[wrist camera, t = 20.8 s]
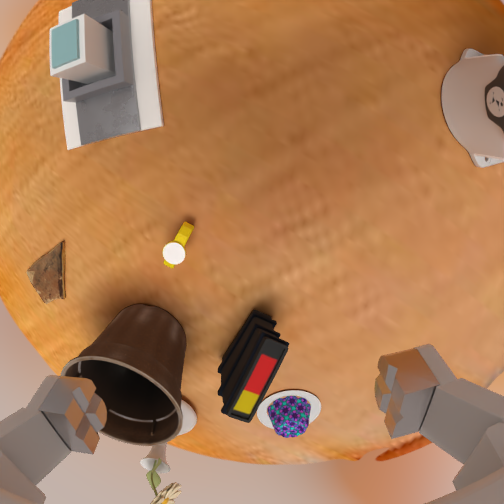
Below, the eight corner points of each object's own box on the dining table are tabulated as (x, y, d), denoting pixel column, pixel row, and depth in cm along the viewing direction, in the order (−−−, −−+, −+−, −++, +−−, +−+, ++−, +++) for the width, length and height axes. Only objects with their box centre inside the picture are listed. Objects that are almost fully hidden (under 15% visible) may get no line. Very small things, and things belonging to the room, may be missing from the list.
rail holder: (150, -19, 29) (139, -34, 24) (164, 126, 37) (152, 125, 32) (62, 13, 30) (44, 4, 25) (71, 149, 37) (52, 152, 33)
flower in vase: (183, 432, 57) (166, 538, 34) (132, 410, 55) (99, 515, 31) (212, 400, 53) (200, 523, 30) (154, 373, 51) (116, 496, 28)
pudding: (333, 403, 55) (338, 423, 50) (288, 434, 58) (291, 453, 53) (288, 377, 52) (292, 399, 47) (243, 412, 55) (243, 433, 50)
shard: (67, 238, 42) (61, 242, 41) (93, 279, 45) (88, 284, 43) (28, 267, 44) (23, 271, 42) (53, 304, 47) (48, 309, 45)
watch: (182, 214, 41) (174, 224, 36) (201, 224, 42) (196, 235, 36) (164, 253, 43) (153, 268, 37) (181, 262, 43) (174, 278, 38)
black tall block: (210, 376, 49) (222, 417, 34) (245, 303, 50) (271, 320, 36) (231, 384, 49) (250, 426, 35) (266, 313, 51) (299, 332, 37)
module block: (115, 33, 30) (81, 12, 21) (118, 74, 33) (82, 60, 24) (85, 44, 31) (46, 27, 22) (87, 84, 33) (47, 75, 24)
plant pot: (86, 330, 48) (44, 394, 33) (135, 268, 44) (90, 332, 29) (160, 386, 52) (140, 457, 37) (219, 337, 48) (210, 416, 33)
